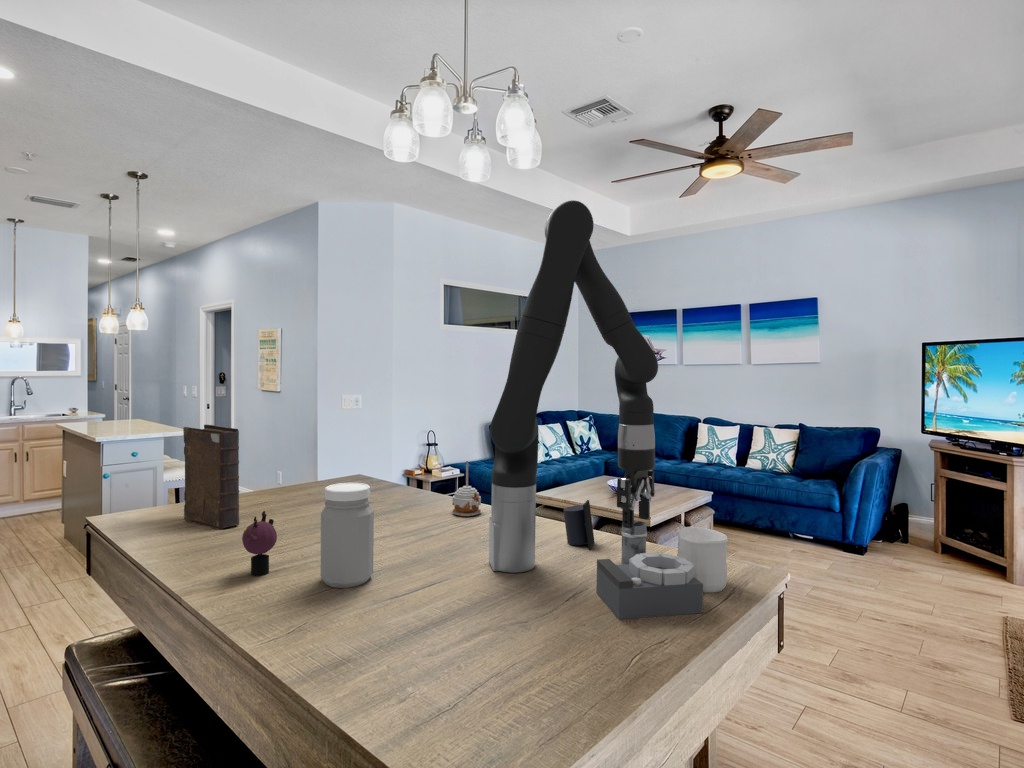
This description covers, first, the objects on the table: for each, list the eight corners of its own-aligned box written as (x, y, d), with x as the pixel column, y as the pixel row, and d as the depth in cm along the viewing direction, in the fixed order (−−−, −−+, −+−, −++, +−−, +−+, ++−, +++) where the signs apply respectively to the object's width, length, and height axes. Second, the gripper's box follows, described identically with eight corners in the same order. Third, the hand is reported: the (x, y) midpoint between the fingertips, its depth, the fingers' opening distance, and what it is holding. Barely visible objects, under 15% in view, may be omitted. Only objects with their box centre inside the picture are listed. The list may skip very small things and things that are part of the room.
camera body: (618, 619, 93) (619, 576, 93) (596, 592, 104) (597, 555, 104) (703, 612, 96) (704, 572, 96) (673, 588, 107) (674, 551, 107)
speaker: (602, 543, 133) (598, 499, 133) (590, 550, 129) (585, 505, 129) (575, 540, 138) (571, 497, 138) (562, 546, 133) (558, 503, 133)
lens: (626, 571, 115) (627, 526, 115) (616, 562, 121) (617, 519, 120) (650, 569, 116) (651, 525, 116) (640, 561, 122) (641, 519, 121)
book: (242, 526, 144) (242, 428, 143) (213, 532, 138) (213, 430, 137) (209, 515, 154) (209, 423, 153) (182, 521, 148) (182, 425, 147)
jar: (383, 574, 112) (383, 483, 111) (353, 592, 103) (354, 494, 102) (341, 568, 115) (341, 480, 114) (309, 585, 106) (309, 489, 105)
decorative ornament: (479, 518, 155) (480, 463, 155) (451, 517, 155) (451, 463, 155) (481, 510, 163) (482, 459, 163) (454, 510, 163) (455, 458, 163)
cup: (701, 597, 103) (703, 544, 102) (663, 579, 112) (664, 530, 111) (738, 588, 107) (739, 537, 107) (698, 571, 116) (699, 524, 116)
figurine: (273, 563, 117) (273, 505, 117) (289, 573, 111) (289, 513, 111) (232, 572, 111) (232, 512, 111) (246, 584, 106) (246, 520, 105)
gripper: (640, 451, 110) (640, 534, 110) (665, 443, 121) (665, 518, 122) (604, 448, 114) (605, 528, 114) (632, 440, 126) (633, 513, 126)
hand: (636, 523), depth 118 cm, fingers open, 8 cm apart
